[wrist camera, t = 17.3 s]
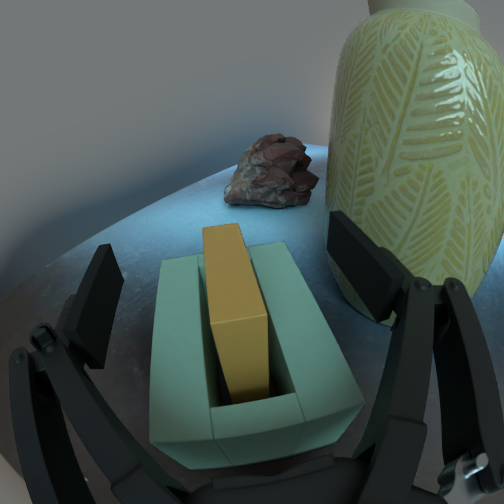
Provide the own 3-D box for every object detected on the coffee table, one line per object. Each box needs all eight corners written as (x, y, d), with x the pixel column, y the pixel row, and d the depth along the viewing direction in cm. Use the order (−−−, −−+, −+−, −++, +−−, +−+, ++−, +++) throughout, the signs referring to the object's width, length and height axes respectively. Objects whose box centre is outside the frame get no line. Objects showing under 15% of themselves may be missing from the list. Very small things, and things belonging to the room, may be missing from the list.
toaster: (334, 444, 13) (366, 401, 9) (191, 471, 12) (148, 442, 8) (279, 300, 25) (280, 234, 21) (182, 316, 23) (162, 252, 20)
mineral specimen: (251, 216, 50) (331, 200, 43) (211, 224, 39) (313, 202, 32) (238, 156, 48) (315, 133, 41) (196, 148, 37) (291, 112, 30)
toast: (269, 417, 15) (267, 314, 9) (238, 423, 14) (210, 324, 9) (249, 337, 20) (238, 222, 15) (224, 341, 20) (202, 227, 15)
